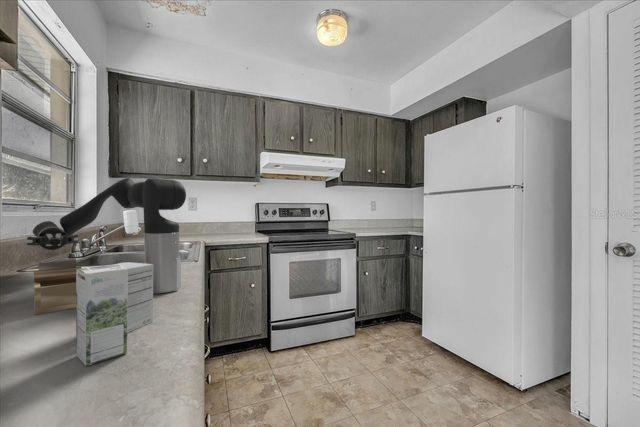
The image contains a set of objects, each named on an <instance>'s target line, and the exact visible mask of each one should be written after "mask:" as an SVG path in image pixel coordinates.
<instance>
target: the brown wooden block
mask: <svg viewBox="0 0 640 427" xmlns="http://www.w3.org/2000/svg"><path fill="white" fill-rule="evenodd" d="M81 268H83V267H81V265H80V266H77V260H76V258H74V259H65V260H54V261H53V260H52V261H41V262H38V269H37V270H33V283H34V282H42V281H51V280H59V279H67V278H75V277H76V270H77V269H81Z"/></svg>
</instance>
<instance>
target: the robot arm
mask: <svg viewBox="0 0 640 427" xmlns="http://www.w3.org/2000/svg"><path fill="white" fill-rule="evenodd" d="M110 197H113V199H114V200H115V201H116V202H117V203H118V204H119V205H120V206H121V207H123V208H124V209H126V210H127V209H129V210H130V209H135V208H141V209H143V224H144V225H143V227H144V232H143V233H144V239H143V240H144V264H153V294H163V293H164V294H165V293H170V292H177V291H178V290H180V288H181V286H182V257H181V255H180V224H179V222H177V221H174V220H170V219H167V218H165V217H164V216H163V215H161V214H160V211H174V210H179V209H180V208H181V207H182V206H183V205H184V204H185V201H186V200H187V191H186V188H185V187H184V185H183V184H182V183H181V182H180V181H178V180H175V179H166V178H165V179H164V178H163V179H162V178H147V179H145V181H139V182H136V183H135V182H134V181H133V180H132V179H131V178H130V177H127V178H123V179H121V180H118V181H117V182H115V183H113V184H112V185H110V186H109V187H108V188H106V189H104V190H103V191H101V192H100V193H99V194H97V195H96V196H94V197H93V198H91V199H90V200H88V202H86V203H84V204H83V205H81V206H80V207H78V208H77V209H75V210H73V211H71V212H69V213H67V214H66V215H64V216H62V217H61V218H60V219H59V224H60V226H61V228H60V227H59V226H58V225H57V224H56V223H55V222H54V221H50V220H48V221H43V222H40V223H38V224H37V225H35V226H34V228H33V229H32V235H34V236H28V237H26V245H27V246H40V247H41V248H42V249H44V250H49V251H56V250H59V249H61V248H63V247H64V246H67V245H68V244H69V245H70V244H77V243H79V234H75V233H76V232H78V231H80V230H82V229H83V228H85V227H87V226H88V225H90V224H92V223H93V222H94V221H95V220H96V218H97V217H98V215H99V213H100V212H101V209H102V207H103V205H104V204H105V203H106V201H107V200H108V199H110Z"/></svg>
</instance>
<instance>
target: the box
mask: <svg viewBox="0 0 640 427" xmlns="http://www.w3.org/2000/svg"><path fill="white" fill-rule="evenodd" d="M33 298H34V299H33V304H34V305H33V306H34V315H35V316H37V315H42V314H48V313H53V312H59V311H65V310H70V309H76V277H75V278H67V279H59V280H51V281H42V282H34V281H33Z"/></svg>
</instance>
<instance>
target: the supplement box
mask: <svg viewBox="0 0 640 427" xmlns="http://www.w3.org/2000/svg"><path fill="white" fill-rule="evenodd" d="M117 264H118V265H121V266H123V267H125V268H126V269H127V270H128V298H127V334H128V333H130V332H132V331H135V330H137V329H140V328H142V327H143V326H144V327H145V326H146V325H149V324H151V323H153V322H154V293H153V264H145V262H144V263H143V262H129V261H128V262H119V263H117ZM112 265H114V264H112Z"/></svg>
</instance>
